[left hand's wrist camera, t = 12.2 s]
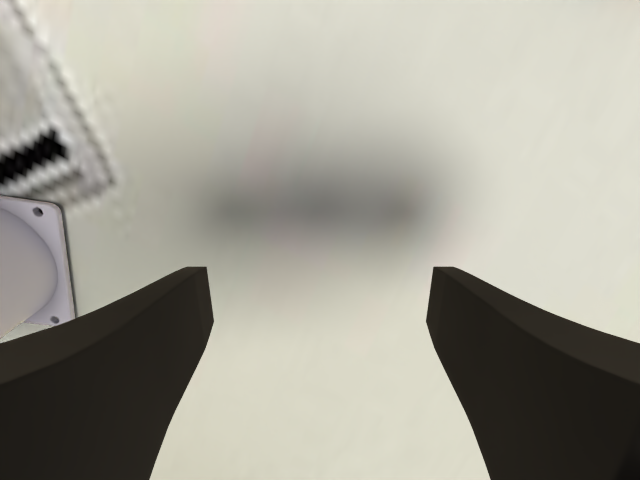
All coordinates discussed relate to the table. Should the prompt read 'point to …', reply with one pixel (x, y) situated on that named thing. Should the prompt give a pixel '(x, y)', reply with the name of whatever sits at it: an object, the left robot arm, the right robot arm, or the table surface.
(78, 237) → the table surface
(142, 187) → the table surface
